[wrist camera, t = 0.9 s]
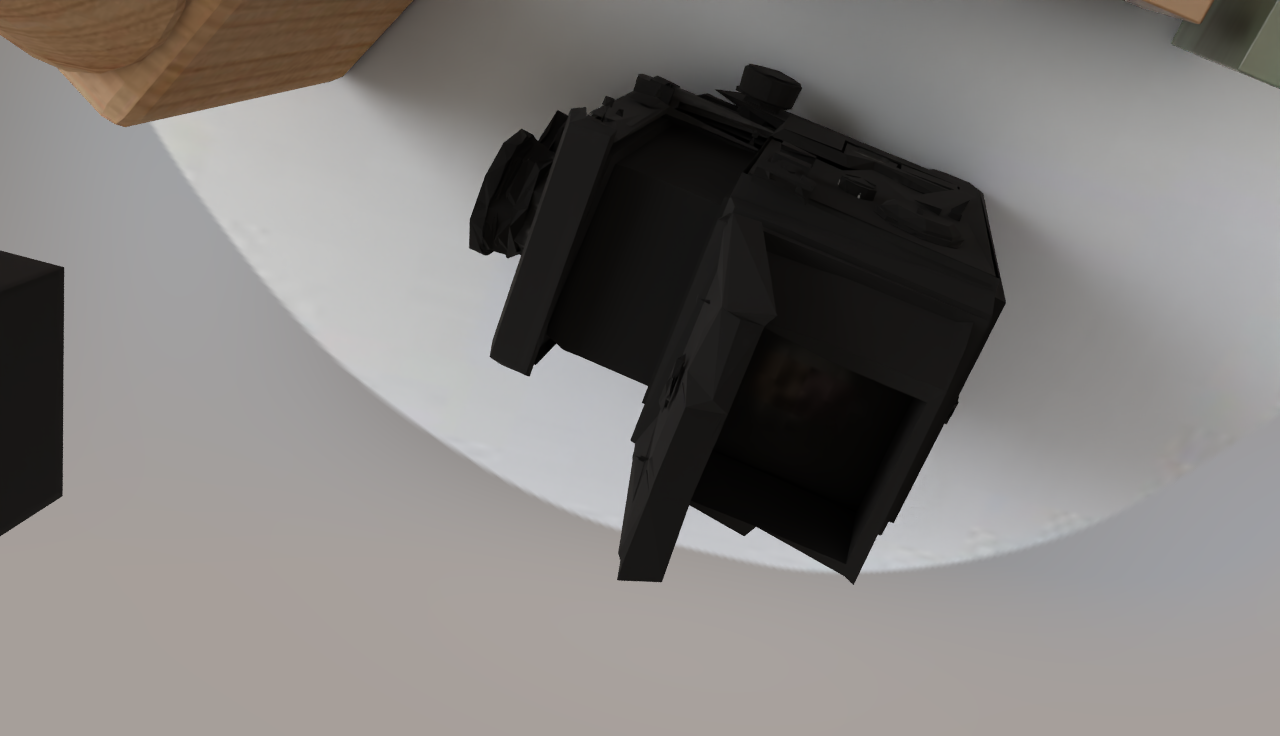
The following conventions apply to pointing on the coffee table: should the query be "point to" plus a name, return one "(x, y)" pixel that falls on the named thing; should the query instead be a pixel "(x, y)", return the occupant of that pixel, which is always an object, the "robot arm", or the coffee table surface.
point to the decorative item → (193, 48)
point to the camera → (746, 305)
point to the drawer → (1228, 33)
